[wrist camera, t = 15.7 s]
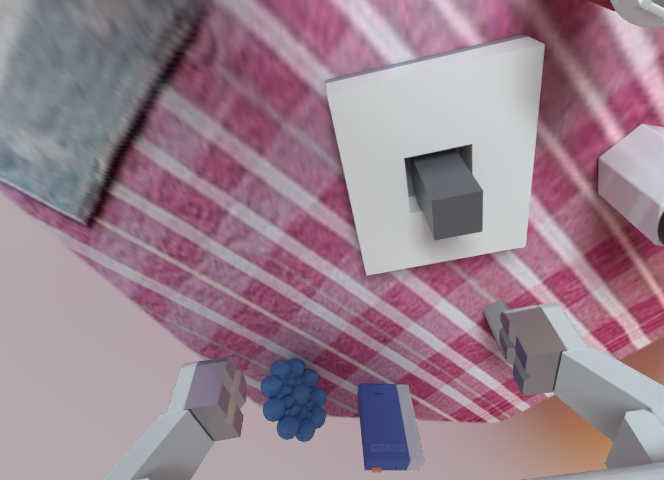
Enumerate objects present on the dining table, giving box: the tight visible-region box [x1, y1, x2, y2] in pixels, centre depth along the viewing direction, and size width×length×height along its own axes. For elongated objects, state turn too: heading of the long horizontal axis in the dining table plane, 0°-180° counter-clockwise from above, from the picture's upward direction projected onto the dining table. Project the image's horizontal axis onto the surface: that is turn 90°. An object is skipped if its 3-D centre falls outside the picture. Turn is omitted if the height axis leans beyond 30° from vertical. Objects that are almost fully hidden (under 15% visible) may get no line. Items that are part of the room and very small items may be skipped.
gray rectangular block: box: [410, 148, 483, 241], centre depth 36 cm, size 4×4×9 cm
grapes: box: [261, 358, 326, 442], centre depth 55 cm, size 12×7×12 cm, turn 42°
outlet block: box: [326, 34, 545, 276], centre depth 39 cm, size 20×17×4 cm
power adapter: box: [483, 300, 546, 398], centre depth 50 cm, size 3×5×12 cm, turn 44°
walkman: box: [358, 384, 424, 472], centre depth 59 cm, size 8×3×12 cm, turn 85°
